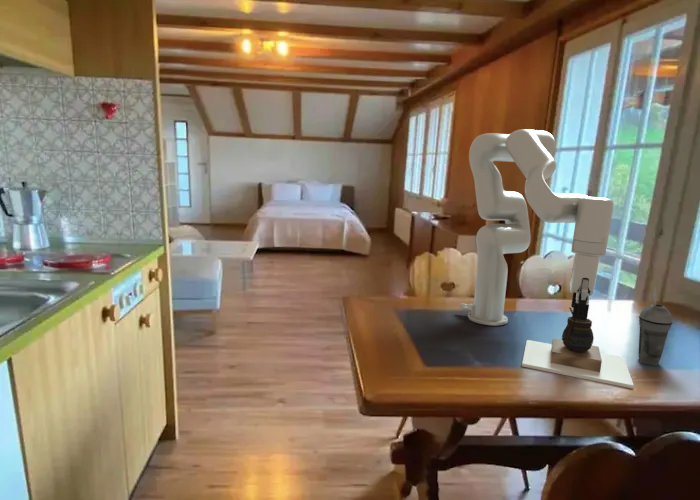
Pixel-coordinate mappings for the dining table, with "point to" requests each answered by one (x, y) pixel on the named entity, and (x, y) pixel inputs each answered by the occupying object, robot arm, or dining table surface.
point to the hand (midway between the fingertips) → (578, 313)
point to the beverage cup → (653, 332)
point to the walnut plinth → (576, 357)
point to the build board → (610, 372)
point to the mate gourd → (578, 335)
